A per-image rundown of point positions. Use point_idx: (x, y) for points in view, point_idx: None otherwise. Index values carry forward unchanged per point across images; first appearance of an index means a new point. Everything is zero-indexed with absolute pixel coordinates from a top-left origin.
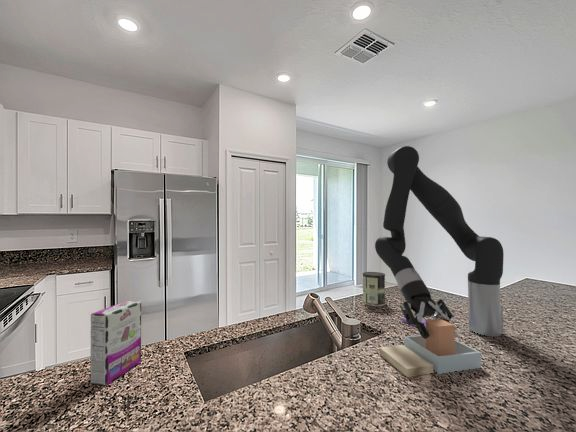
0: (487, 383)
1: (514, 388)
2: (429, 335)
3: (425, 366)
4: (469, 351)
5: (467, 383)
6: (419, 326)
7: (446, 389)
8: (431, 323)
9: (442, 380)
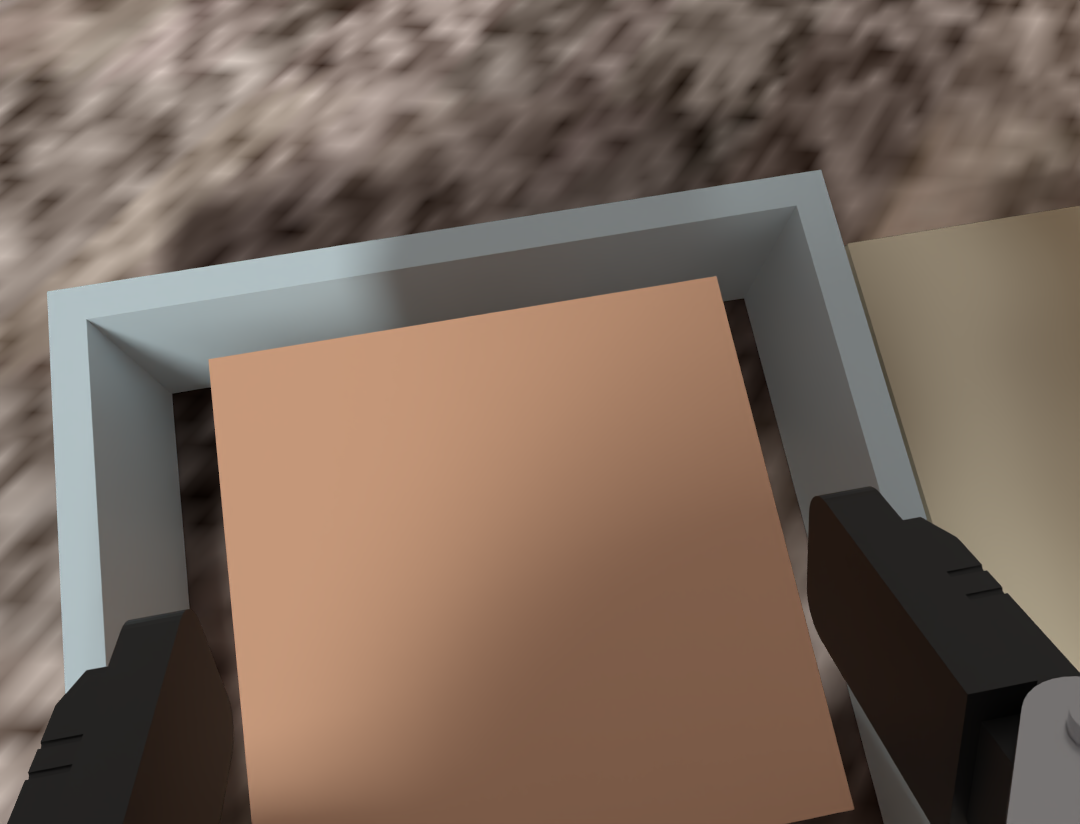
0: (346, 91)
1: (149, 7)
2: (814, 499)
3: (960, 227)
4: (119, 466)
5: (555, 101)
6: (1050, 653)
7: (831, 29)
8: (784, 549)
9: (787, 161)
